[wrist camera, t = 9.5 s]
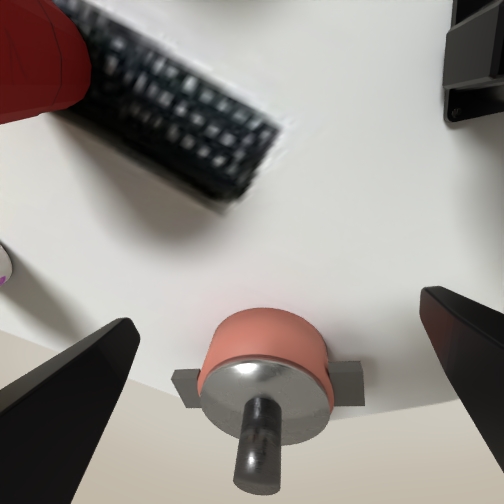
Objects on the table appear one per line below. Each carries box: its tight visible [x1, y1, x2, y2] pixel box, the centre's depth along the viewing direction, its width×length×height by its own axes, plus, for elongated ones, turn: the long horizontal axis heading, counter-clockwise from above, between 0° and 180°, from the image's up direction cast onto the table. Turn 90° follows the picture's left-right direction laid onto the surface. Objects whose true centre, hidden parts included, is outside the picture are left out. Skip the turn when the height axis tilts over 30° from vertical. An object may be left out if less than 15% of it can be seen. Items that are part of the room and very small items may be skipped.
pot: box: [171, 308, 365, 414], centre depth 25 cm, size 17×12×5 cm
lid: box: [200, 354, 330, 495], centre depth 20 cm, size 11×11×6 cm
